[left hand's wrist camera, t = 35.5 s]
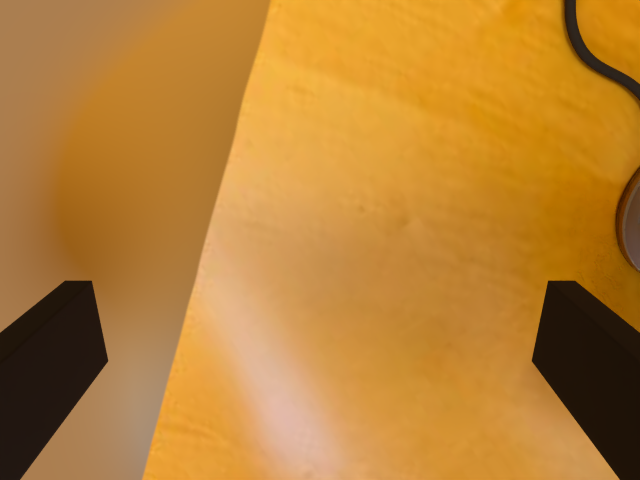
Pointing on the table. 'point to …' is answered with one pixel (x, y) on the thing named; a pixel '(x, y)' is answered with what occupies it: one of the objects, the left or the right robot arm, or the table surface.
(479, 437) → the table surface
